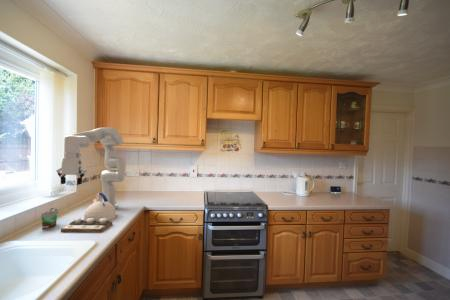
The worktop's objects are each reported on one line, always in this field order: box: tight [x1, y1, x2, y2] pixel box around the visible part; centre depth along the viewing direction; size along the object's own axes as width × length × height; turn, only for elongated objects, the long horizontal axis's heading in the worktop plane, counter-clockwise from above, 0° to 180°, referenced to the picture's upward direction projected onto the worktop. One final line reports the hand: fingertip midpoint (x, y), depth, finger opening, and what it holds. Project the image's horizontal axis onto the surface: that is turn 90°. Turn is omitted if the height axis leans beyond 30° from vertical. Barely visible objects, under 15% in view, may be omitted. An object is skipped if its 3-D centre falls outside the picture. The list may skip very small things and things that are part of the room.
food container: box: [40, 207, 59, 230], centre depth 137 cm, size 12×6×10 cm, turn 17°
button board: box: [60, 219, 113, 233], centre depth 135 cm, size 13×24×3 cm, turn 91°
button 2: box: [99, 218, 107, 223], centre depth 138 cm, size 4×4×2 cm
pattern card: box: [61, 224, 104, 229], centre depth 131 cm, size 5×22×1 cm, turn 91°
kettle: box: [83, 192, 117, 221], centre depth 154 cm, size 20×21×18 cm
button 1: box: [73, 217, 82, 222], centre depth 137 cm, size 4×4×2 cm
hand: (71, 184), depth 131 cm, fingers open, 9 cm apart
